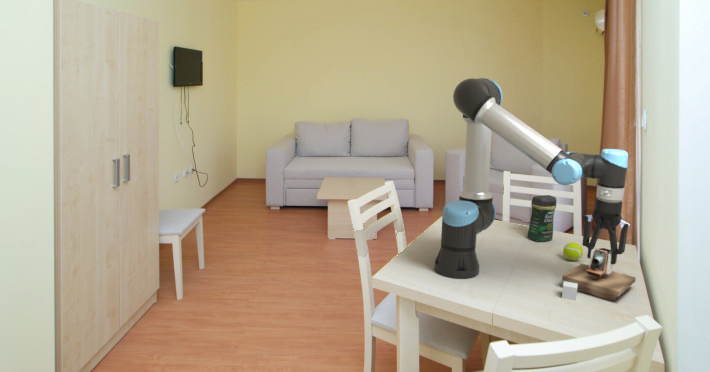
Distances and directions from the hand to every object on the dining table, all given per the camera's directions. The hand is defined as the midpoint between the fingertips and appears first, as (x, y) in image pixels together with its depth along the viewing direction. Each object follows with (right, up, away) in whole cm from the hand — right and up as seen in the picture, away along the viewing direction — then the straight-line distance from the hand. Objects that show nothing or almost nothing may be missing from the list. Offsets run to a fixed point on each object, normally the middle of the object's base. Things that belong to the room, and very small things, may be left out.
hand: (600, 270), depth 166 cm
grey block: (-12, -7, -5) cm, 15 cm away
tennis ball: (+2, -1, +26) cm, 26 cm away
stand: (0, -6, +1) cm, 6 cm away
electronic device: (-1, -1, 0) cm, 1 cm away
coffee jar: (-1, +5, +50) cm, 50 cm away
